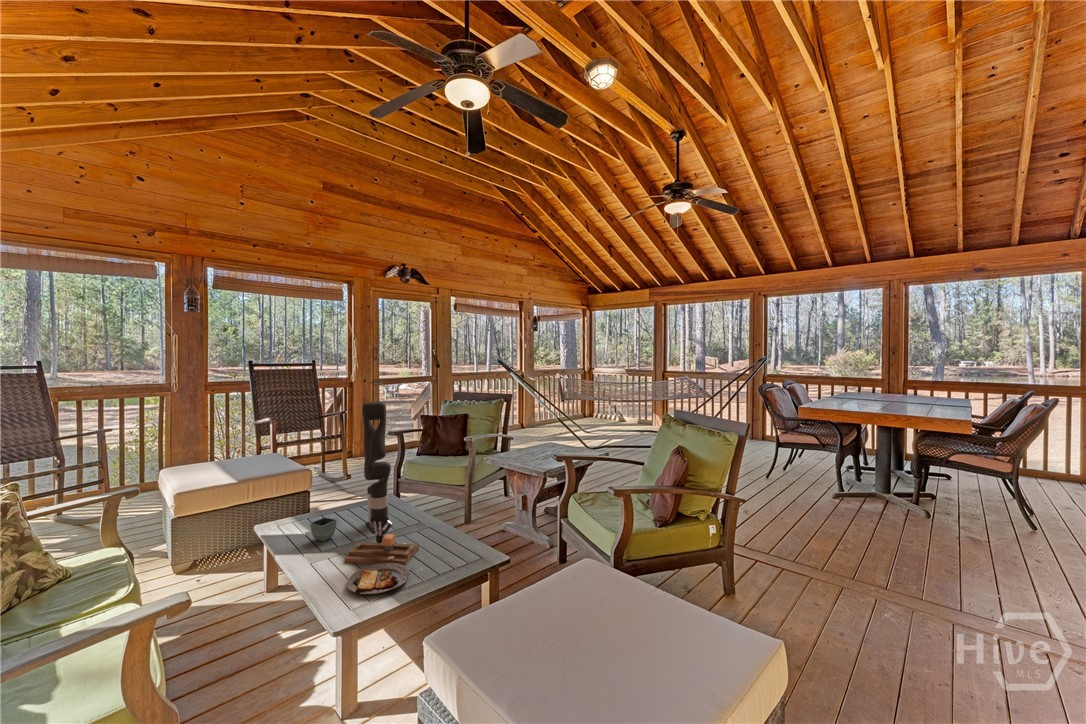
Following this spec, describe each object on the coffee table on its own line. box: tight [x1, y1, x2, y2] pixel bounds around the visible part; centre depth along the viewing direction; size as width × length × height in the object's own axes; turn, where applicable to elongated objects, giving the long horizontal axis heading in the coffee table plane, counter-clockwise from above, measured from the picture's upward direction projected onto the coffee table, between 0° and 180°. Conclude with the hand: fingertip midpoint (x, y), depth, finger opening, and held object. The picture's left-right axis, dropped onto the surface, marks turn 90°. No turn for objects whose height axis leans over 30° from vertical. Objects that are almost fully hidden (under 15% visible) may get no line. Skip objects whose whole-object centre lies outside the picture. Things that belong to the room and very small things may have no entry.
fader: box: [381, 533, 396, 551], centre depth 203 cm, size 5×4×7 cm
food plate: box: [345, 563, 410, 595], centre depth 181 cm, size 25×23×4 cm
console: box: [344, 541, 420, 566], centre depth 204 cm, size 16×28×4 cm, turn 84°
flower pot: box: [309, 516, 337, 542], centre depth 221 cm, size 9×9×9 cm
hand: (379, 542), depth 204 cm, fingers closed
